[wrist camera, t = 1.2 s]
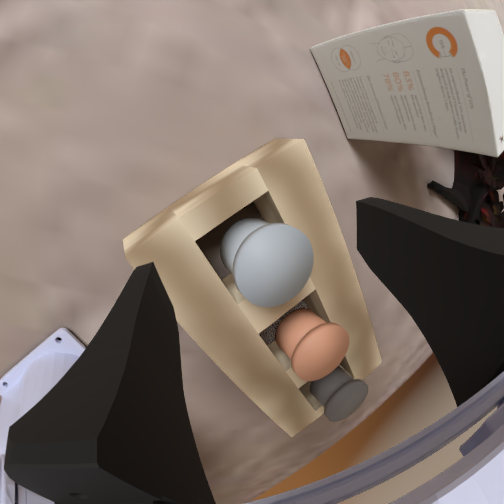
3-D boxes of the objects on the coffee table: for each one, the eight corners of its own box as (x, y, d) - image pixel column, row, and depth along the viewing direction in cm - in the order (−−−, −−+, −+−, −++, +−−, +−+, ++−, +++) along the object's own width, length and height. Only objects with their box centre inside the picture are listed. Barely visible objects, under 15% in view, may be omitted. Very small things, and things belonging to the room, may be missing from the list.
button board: (275, 415, 30) (291, 437, 27) (122, 239, 18) (125, 258, 15) (360, 345, 32) (381, 362, 29) (275, 138, 21) (304, 139, 18)
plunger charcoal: (314, 404, 27) (334, 427, 24) (299, 384, 25) (322, 409, 22) (348, 376, 28) (371, 396, 25) (338, 352, 26) (363, 374, 23)
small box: (391, 113, 24) (524, 126, 13) (345, 140, 23) (499, 161, 12) (360, 31, 20) (497, 8, 9) (306, 46, 19) (463, 8, 8)
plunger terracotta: (284, 363, 23) (308, 390, 20) (260, 330, 21) (286, 358, 18) (327, 328, 24) (354, 351, 21) (309, 291, 22) (340, 314, 19)
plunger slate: (236, 294, 20) (261, 322, 17) (199, 239, 17) (220, 261, 14) (291, 253, 20) (323, 273, 17) (262, 196, 18) (295, 208, 15)
